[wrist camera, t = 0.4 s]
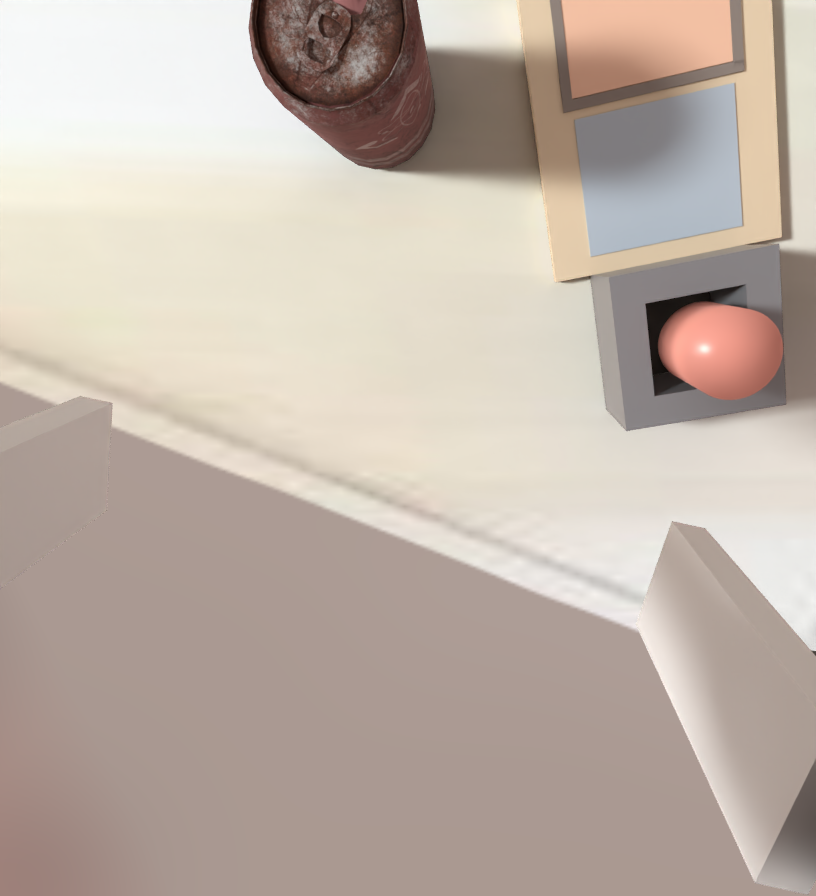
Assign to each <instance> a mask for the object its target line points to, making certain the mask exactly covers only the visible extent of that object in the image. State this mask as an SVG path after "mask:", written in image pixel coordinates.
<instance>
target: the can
mask: <svg viewBox="0 0 816 896" xmlns="http://www.w3.org/2000/svg"><path fill="white" fill-rule="evenodd" d="M249 34H250V41H251V47H252V54H253V59H254V61H255V63H256V65H257V68H258V70H259V72H260V74H261V77H262V79H263V81H264V83H265V85H266V86H267V88H268V89H269V90H270V91H271V92H272V93H273V95H274V96H275V97H276V98H277V99H278V100H279V102H280V103H281V104H282V105H283V106H284V107H285V108H286V109H287V110H289V111H290V112H291V113H292V114H293V115H295V116H296V117H297V118H298V119H299V120H301V121H302V122H303V123H304V124H305V125H307V126H308V127H309V128H310V129H312V130H313V131H314V132H315V133H316V134H318V135H319V136H320V137H321V138H322V139H324V140H325V141H326V142H327V143H328V144H330V145H331V146H332V147H333V148H334V149H336V150H337V151H338V152H339V153H341V154H342V155H343V156H344V157H346V158H348V159H349V160H351V161H352V162H354V163H356V164H357V165H359V166H364V167H368V168H373V169H381V168H389V167H394V166H396V165H398V164H400V163H402V162H404V161H406V160H408V159H410V158H411V157H412V156H413V155H414V154H415V153H416V152H417V151H418V150H419V149H420V148H421V147H422V145H423V143H424V142H425V140H426V138H427V136H428V134H429V132H430V130H431V127H432V122H433V117H434V112H435V104H434V92H433V85H432V80H431V74H430V69H429V64H428V58H427V53H426V47H425V42H424V36H423V31H422V25H421V20H420V14H419V9H418V3H417V0H252V3H251V12H250V20H249Z"/></svg>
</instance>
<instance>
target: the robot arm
mask: <svg viewBox="0 0 816 896" xmlns="http://www.w3.org/2000/svg"><path fill="white" fill-rule="evenodd" d="M111 422H112V403H110V402H106V401H101V400H96V399H91V398H87V397H82V396H80V397H77V398H74V399H72V400H69V401H67V402H64V403H62V404H59V405H56V406H54V407H51V408H49V409H46V410H44V411H41V412H38V413H36V414H33V415H31V416H28V417H26V418H23V419H20V420H18V421H15V422H13V423H10V424H7V425H5V426H2V427H0V589H1V588H3V587H4V586H5V585H7V584H8V583H9V582H11V581H12V580H13V579H15V578H16V577H17V576H19V575H20V574H22V573H23V572H24V571H26V570H27V569H28V568H30V567H31V566H32V565H34V564H35V563H36V562H38V561H39V560H41V559H42V558H43V557H45V556H46V555H47V554H48V553H50V552H51V551H53V550H54V549H55V548H57V547H58V546H60V545H61V544H62V543H63V542H65V541H66V540H68V539H69V538H70V537H72V536H73V535H74V534H76V533H77V532H78V531H80V530H81V529H83V528H84V527H85V526H87V525H88V524H89V523H91V522H92V521H93V520H95V519H96V518H97V517H99V516H100V515H101V514H103V513H104V512H106V511H107V495H108V478H109V457H110V440H111ZM636 626H637V628H638V630H639V632H640V635H641V637H642V639H643V641H644V643H645V645H646V647H647V650H648V652H649V654H650V656H651V658H652V661H653V663H654V665H655V667H656V669H657V671H658V673H659V676H660V678H661V680H662V682H663V684H664V687H665V689H666V691H667V693H668V695H669V697H670V699H671V702H672V704H673V706H674V708H675V711H676V712H677V715H678V717H679V719H680V721H681V724H682V726H683V728H684V730H685V732H686V734H687V737H688V739H689V741H690V743H691V745H692V747H693V750H694V752H695V754H696V756H697V758H698V761H699V763H700V764H701V767H702V769H703V771H704V774H705V776H706V778H707V780H708V782H709V784H710V786H711V789H712V791H713V793H714V795H715V797H716V799H717V802H718V804H719V806H720V808H721V810H722V813H723V815H724V817H725V819H726V821H727V823H728V826H729V828H730V830H731V832H732V834H733V836H734V838H735V841H736V843H737V845H738V847H739V849H740V852H741V854H742V856H743V858H744V860H745V863H746V864H747V867H748V869H749V871H750V873H751V876H752V878H753V880H754V882H755V883H758V884H762V885H767V886H771V887H776V888H780V889H785V890H789V891H794V892H798V893H803V894H809V892H810V890H811V888H812V886H813V884H814V882H815V881H816V651H811V650H810V649H809V648H808V647H807V645H806V644H805V643H804V642H803V641H802V640H801V638H800V637H799V636H798V635H797V634H796V633H795V632H794V630H793V629H792V628H791V627H790V626H789V625H788V623H787V622H786V621H785V620H784V619H783V618H782V617H781V615H780V614H779V613H778V612H777V611H776V610H775V608H774V607H773V606H772V605H771V604H770V603H769V602H768V600H767V599H766V598H765V597H764V596H763V595H762V593H761V592H760V591H759V590H758V589H757V588H756V586H755V585H754V584H753V583H752V582H751V581H750V580H749V578H748V577H747V576H746V575H745V574H744V573H743V571H742V570H741V569H740V568H739V567H738V566H737V565H736V563H735V562H734V561H733V560H732V559H731V558H730V556H729V555H728V554H727V553H726V552H725V551H724V550H723V548H722V547H721V546H720V545H719V544H718V543H717V541H716V540H715V539H714V538H713V537H712V536H711V535H710V533H709V532H708V531H707V530H706V529H705V528H701V527H696V526H692V525H687V524H682V523H677V522H673V521H672V523H671V526H670V528H669V531H668V534H667V537H666V540H665V543H664V545H663V548H662V551H661V554H660V557H659V560H658V562H657V565H656V568H655V571H654V574H653V577H652V579H651V582H650V585H649V588H648V591H647V594H646V597H645V599H644V602H643V605H642V608H641V611H640V614H639V616H638V619H637V622H636Z"/></svg>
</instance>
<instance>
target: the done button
mask: <svg viewBox="0 0 816 896" xmlns="http://www.w3.org/2000/svg"><path fill="white" fill-rule="evenodd" d="M658 352H659V356H660V359H661V361H662V363H663V365H664V366H665V368H666V369H667V370H668V371H669V372H670V373H671V374H673V375H674V376H676V377H678V378H679V379H681V380H683V381H685V382H686V383H688V384H690V385H692V386H693V387H695V388H697V389H699V390H700V391H702V392H704V393H706V394H707V395H709V396H711V397H714V398H717V399H722V400H737V399H741V398H745V397H748V396H750V395H753V394H755V393H756V392H758V391H759V390H761V389H762V388H763V387H765V386H766V385H767V384H768V383H769V382H770V381H771V380H772V378H773V377H774V376H775V374H776V372H777V371H778V369H779V366H780V364H781V360H782V356H783V341H782V337H781V334H780V332H779V329H778V328H777V326H776V325H775V324H774V322H773V321H772V320H771V319H769V318H768V317H767V316H765V315H764V314H762V313H760V312H758V311H755V310H751V309H746V308H740V307H735V306H730V305H724V304H719V303H714V302H707V301H701V302H694V303H690V304H688V305H685V306H683V307H681V308H680V309H678V310H677V311H675V312H674V313H673V314H672V315H671V316H670V317H669V318H668V319H667V321H666V322H665V324H664V325H663V327H662V329H661V332H660V335H659V339H658Z"/></svg>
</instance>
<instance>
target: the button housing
mask: <svg viewBox="0 0 816 896" xmlns="http://www.w3.org/2000/svg"><path fill="white" fill-rule="evenodd" d="M590 279H591V287H592V295H593V303H594V312H595V320H596V328H597V337H598V345H599V353H600V361H601V370H602V378H603V386H604V395H605V403H606V410H607V411H608V412H609V413H610V414H611V415H612V416H613V417H614V418H615V419H616V420H617V422H618V423H619V424H620V425H621V426H622V427H623V428H624V429H625V430H626V431H630V430H636V429H642V428H648V427H654V426H660V425H666V424H672V423H678V422H684V421H690V420H696V419H702V418H708V417H714V416H720V415H726V414H732V413H738V412H744V411H750V410H756V409H762V408H768V407H774V406H780V405H786V389H785V366H784V343H783V356H782V360H781V364H780V366H779V369H778V371H777V372H776V374H775V376H774V377H773V378H772V380H771V381H770V382H769V383H768V384H767V385H766V386H765V387H763V388H762V389H761V390H759V391H758V392H756V393H755V394H753V395H750V396H748V397H745V398H741V399H737V400H722V399H717V398H714V397H711V396H709V395H707V394H706V393H704V392H702V391H700V390H699V389H697V388H695V387H693V386H692V385H690V384H688V383H686V382H685V381H683V380H681V379H679V378H678V377H676V376H674V375H673V374H671V373H670V372H666V373H661V374H655V375H652V366H651V356H650V346H649V336H648V326H647V316H646V306H645V304H646V303H651V302H656V301H661V300H666V299H672V298H677V297H682V296H687V295H693V294H698V293H703V292H708V291H710V302H714V303H719V304H724V305H730V306H735V307H740V308H746V309H751V310H755V311H758V312H760V313H762V314H764V315H765V316H767V317H768V318H769V319H771V320H772V321H773V322H774V324H775V325H776V326H777V328H778V329H779V332H780V334H781V337H782V341H783V320H782V297H781V274H780V251H779V244H758V245H741V246H736V247H731V248H726V249H721V250H716V251H711V252H705V253H700V254H695V255H690V256H685V257H680V258H675V259H670V260H665V261H660V262H655V263H650V264H645V265H640V266H635V267H630V268H625V269H620V270H615V271H610V272H605V273H600V274H595V275H590Z"/></svg>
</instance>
